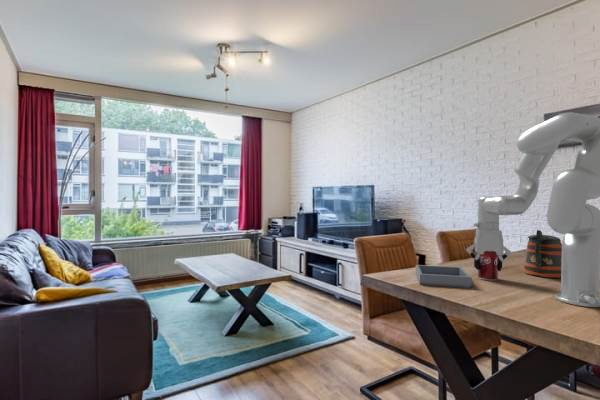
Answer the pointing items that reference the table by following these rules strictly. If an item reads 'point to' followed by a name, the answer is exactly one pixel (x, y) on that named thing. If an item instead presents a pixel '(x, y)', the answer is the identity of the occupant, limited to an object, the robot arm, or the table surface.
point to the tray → (443, 276)
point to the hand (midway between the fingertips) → (487, 269)
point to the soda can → (488, 266)
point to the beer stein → (543, 256)
